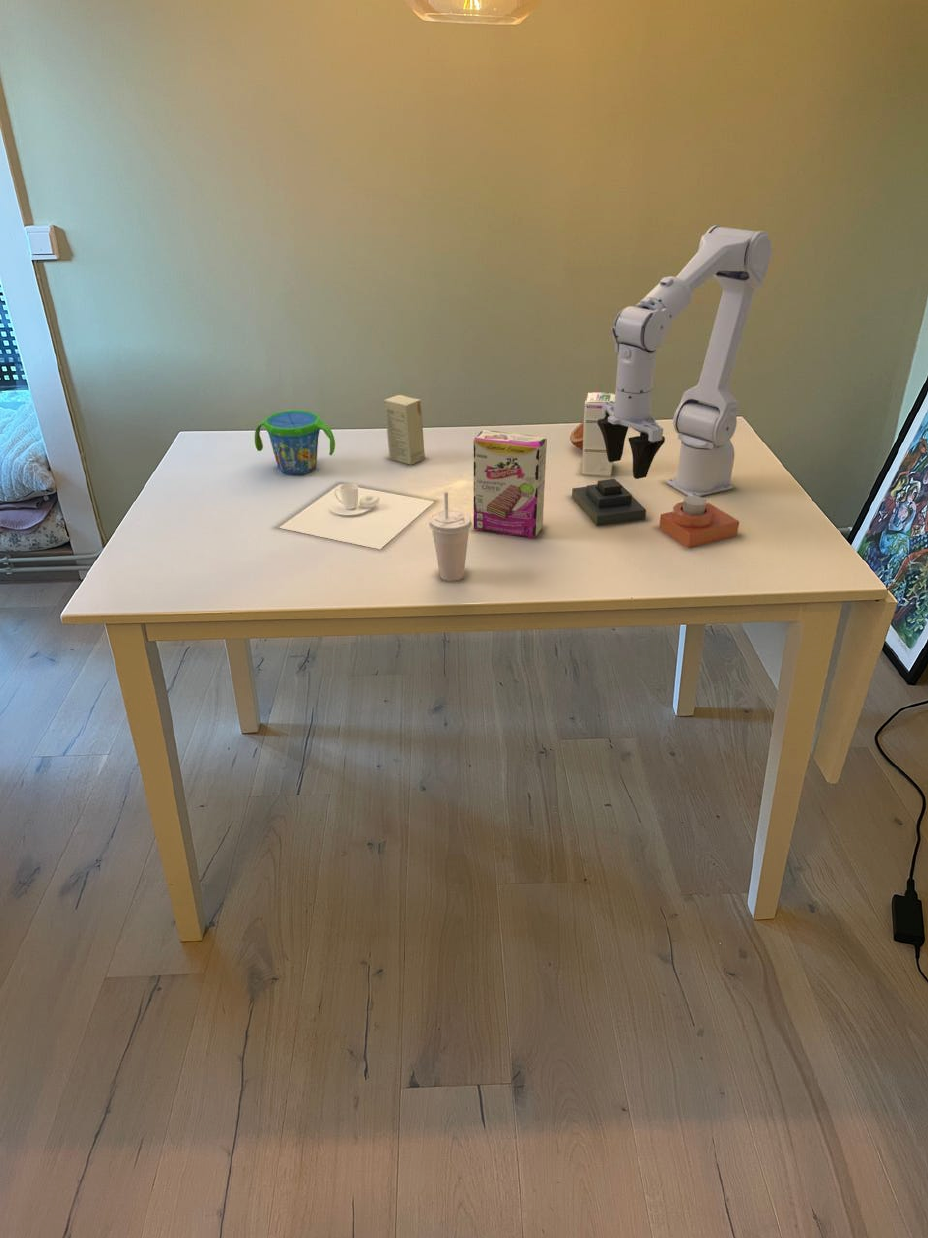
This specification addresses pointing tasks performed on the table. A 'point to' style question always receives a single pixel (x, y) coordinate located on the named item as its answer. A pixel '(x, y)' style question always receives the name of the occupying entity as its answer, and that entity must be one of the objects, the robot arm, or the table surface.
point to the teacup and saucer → (358, 515)
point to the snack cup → (294, 439)
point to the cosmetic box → (404, 429)
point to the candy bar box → (509, 483)
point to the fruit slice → (578, 436)
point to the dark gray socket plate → (608, 505)
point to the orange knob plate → (698, 525)
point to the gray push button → (694, 505)
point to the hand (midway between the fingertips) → (626, 468)
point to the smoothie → (450, 540)
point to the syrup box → (595, 436)
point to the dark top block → (609, 487)
